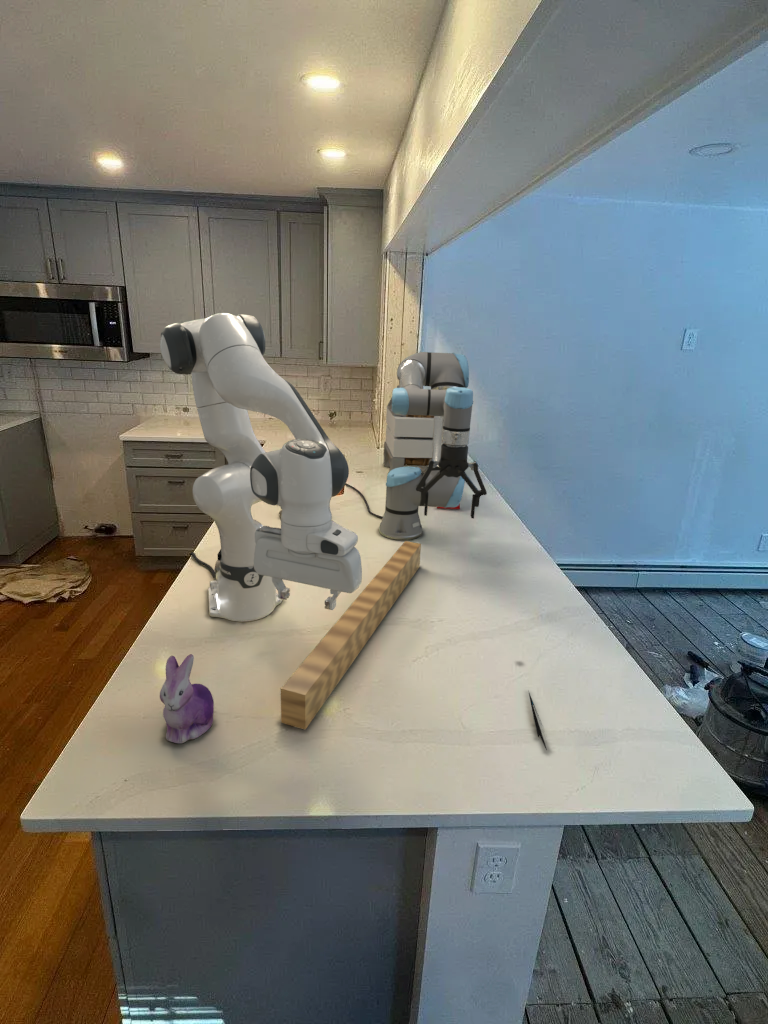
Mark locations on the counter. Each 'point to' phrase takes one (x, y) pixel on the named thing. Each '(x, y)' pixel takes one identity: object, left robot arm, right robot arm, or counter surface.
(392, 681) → the counter surface
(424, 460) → the transformer
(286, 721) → the bar
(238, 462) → the left robot arm
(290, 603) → the counter surface
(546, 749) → the feather
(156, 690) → the counter surface
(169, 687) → the figurine
